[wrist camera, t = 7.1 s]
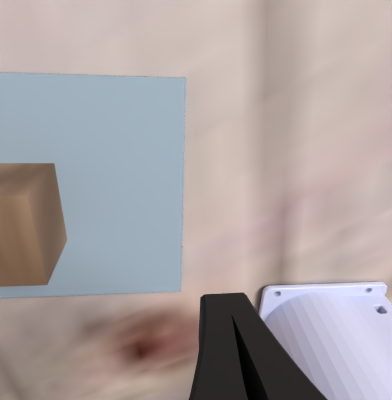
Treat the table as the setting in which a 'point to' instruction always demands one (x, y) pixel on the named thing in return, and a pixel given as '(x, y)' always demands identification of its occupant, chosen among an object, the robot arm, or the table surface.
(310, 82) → the table surface
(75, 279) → the light blue mat
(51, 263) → the walnut block
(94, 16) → the table surface
